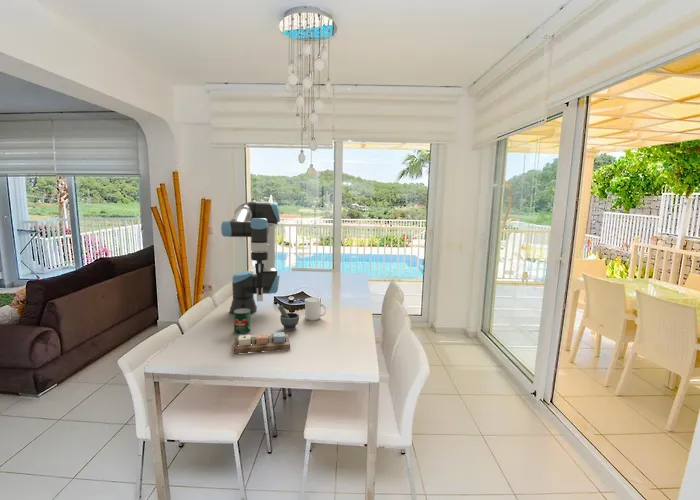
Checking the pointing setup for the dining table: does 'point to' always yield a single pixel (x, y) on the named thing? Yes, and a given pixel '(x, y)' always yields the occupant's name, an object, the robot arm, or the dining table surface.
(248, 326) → the canned tomato
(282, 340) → the button block
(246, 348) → the button board
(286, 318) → the mortar and pestle
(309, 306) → the mug
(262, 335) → the button block
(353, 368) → the dining table surface
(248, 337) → the button block
